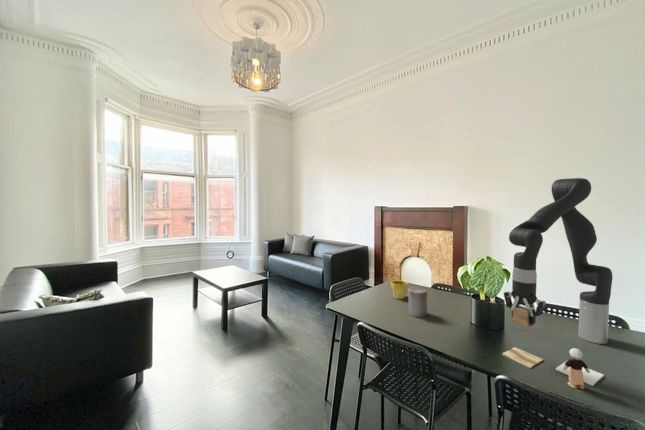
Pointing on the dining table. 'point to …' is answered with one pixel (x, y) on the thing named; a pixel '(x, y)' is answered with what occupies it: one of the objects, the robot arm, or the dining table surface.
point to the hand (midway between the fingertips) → (523, 321)
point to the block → (521, 316)
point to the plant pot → (399, 288)
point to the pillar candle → (417, 301)
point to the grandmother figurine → (576, 368)
